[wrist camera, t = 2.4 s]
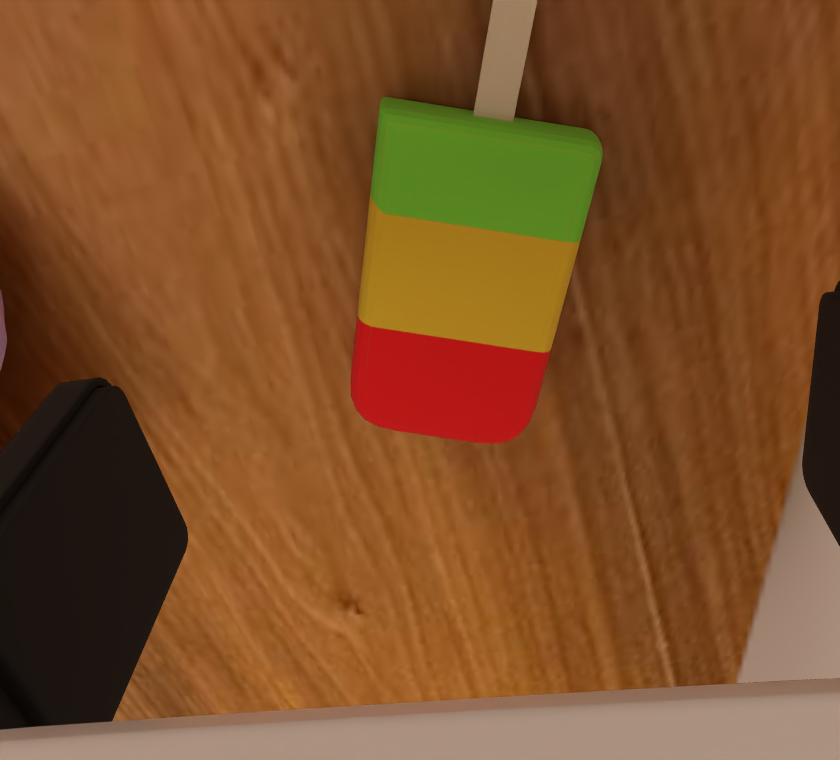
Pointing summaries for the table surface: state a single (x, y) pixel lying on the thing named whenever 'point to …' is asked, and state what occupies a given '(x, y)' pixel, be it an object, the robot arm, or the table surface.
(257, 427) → the table surface
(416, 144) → the popsicle
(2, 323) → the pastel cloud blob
